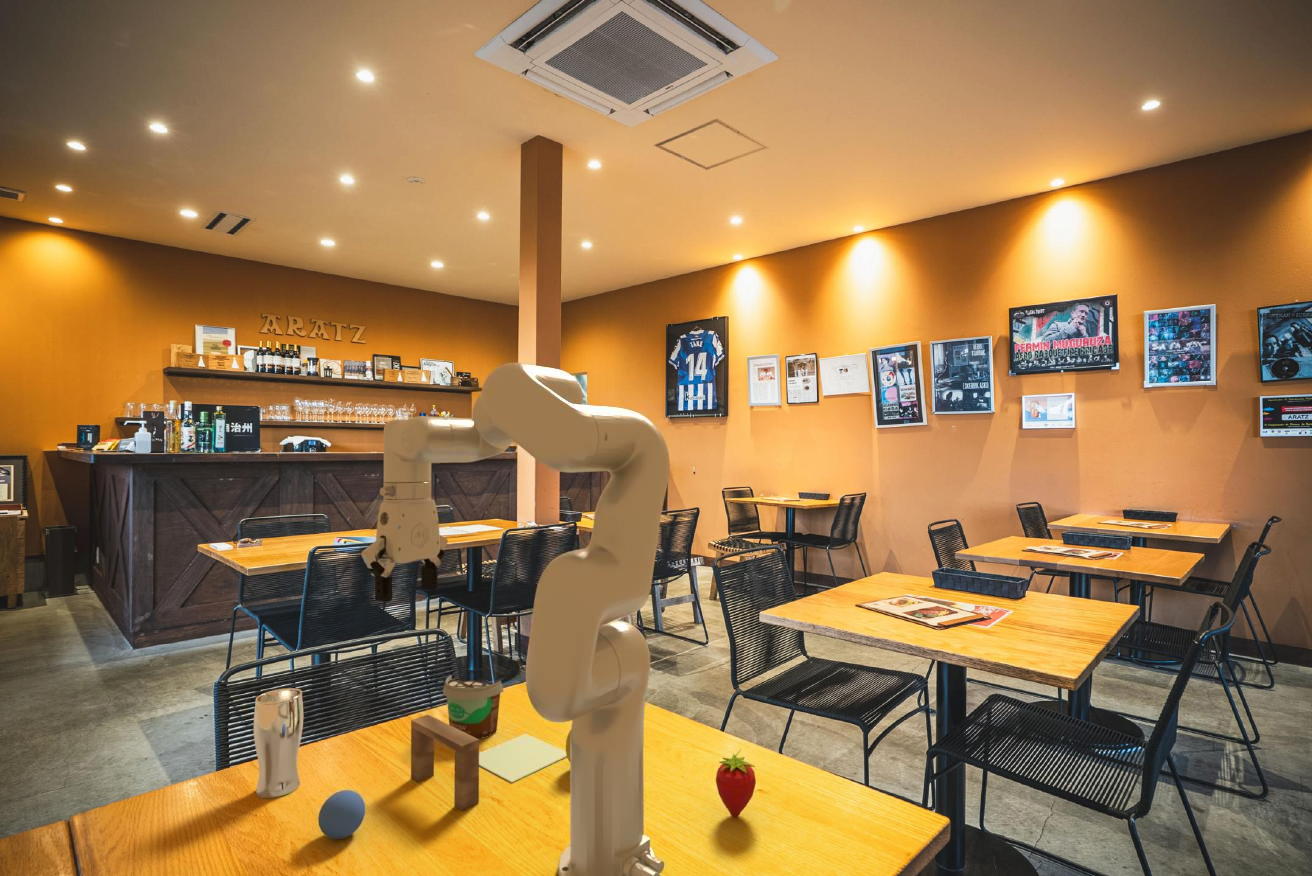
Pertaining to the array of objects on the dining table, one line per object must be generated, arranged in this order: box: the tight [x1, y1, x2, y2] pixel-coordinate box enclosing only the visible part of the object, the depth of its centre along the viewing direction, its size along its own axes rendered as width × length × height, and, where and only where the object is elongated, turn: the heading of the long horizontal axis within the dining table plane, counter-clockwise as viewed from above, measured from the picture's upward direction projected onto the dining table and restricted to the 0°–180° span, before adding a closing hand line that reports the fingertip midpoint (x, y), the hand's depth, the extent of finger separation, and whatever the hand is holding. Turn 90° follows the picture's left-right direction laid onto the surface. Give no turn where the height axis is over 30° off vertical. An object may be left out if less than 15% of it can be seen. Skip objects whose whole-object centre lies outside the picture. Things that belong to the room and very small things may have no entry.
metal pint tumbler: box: [253, 687, 304, 799], centre depth 104 cm, size 7×7×15 cm
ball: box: [317, 789, 366, 840], centre depth 91 cm, size 6×6×6 cm
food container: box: [442, 674, 504, 740], centre depth 124 cm, size 12×6×10 cm, turn 73°
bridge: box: [410, 714, 480, 812], centre depth 104 cm, size 3×15×10 cm, turn 49°
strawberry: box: [715, 749, 757, 818], centre depth 96 cm, size 6×8×10 cm
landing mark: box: [479, 733, 567, 784], centre depth 115 cm, size 13×13×1 cm
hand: (407, 594), depth 108 cm, fingers open, 9 cm apart
